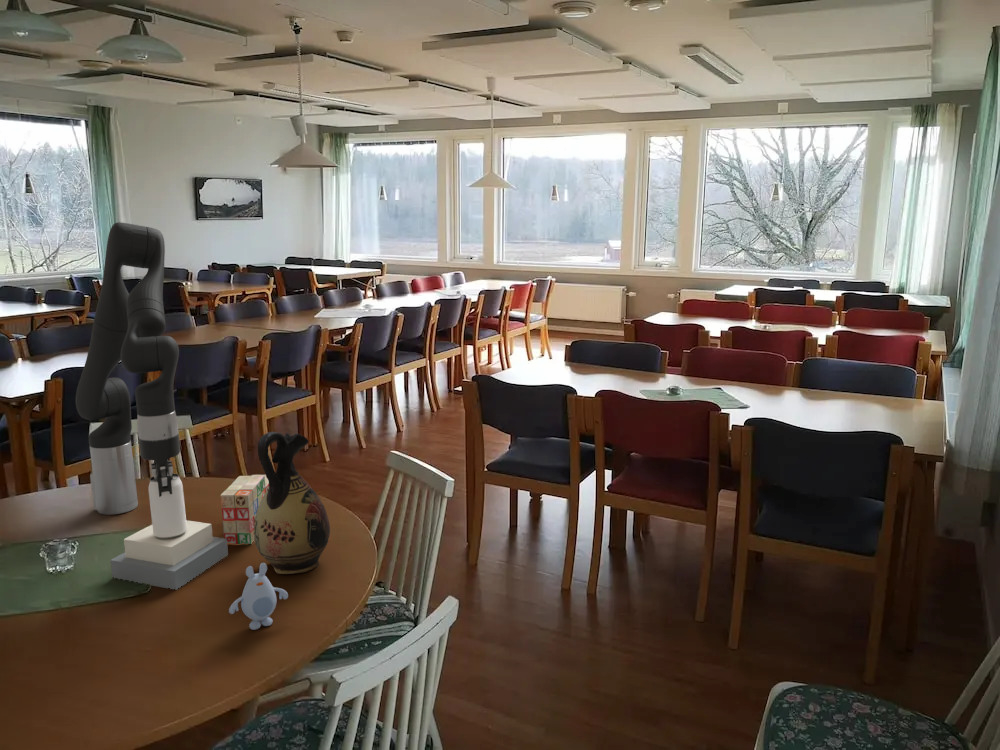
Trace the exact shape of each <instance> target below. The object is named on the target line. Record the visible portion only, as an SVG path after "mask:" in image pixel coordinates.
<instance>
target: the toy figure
mask: <svg viewBox="0 0 1000 750" xmlns="http://www.w3.org/2000/svg"><path fill="white" fill-rule="evenodd" d="M267 570H268V566H267V564H266V563H265V562H261V563H260V565H259V570H258V571H259V572H257V573H254V568H253V566H251V565H249V566H247V567H246V569H245V576H247V577H248V579H247V581H246V583H245V585H244V588H243V590H242V595H241V596H240V597H238V598H237V599H235V600H234V601H233V603H231V605H230V607H228V613H229V614H230V615H233V614H235V613H236V612H238V611H239V603H240V607H241V610H242V612H243V614H244V615H245V616H246V617H248V619H250V620H252V621H251V622H250V623H249V625H248V626H249V629H250V630H254V631H255V630H258V629H260V628H261V626H263V627H269V626H271V625H272V624H273V621H274V620H273V618H271V617H270V616H271V615H272V614H273V612H274V611H275V609H276V607H277V601H278V599H277V598H278V597H277V594H276V592H278V593H279V595H278V596H279V600H282V599H283V600H287V599H288V598H289V594H288V592H287V590H285V589H283V588H280V587H274V586H273V585H272V583H271V582H270V580H269V578H268V577H267V576H266V573H267Z"/></svg>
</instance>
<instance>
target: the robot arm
mask: <svg viewBox="0 0 1000 750" xmlns="http://www.w3.org/2000/svg"><path fill="white" fill-rule="evenodd" d="M165 244H166V243H165V239H164V235H163V233H162V232H161V230H159V229H158V228H154V227H149V226H144V225H139V224H133V223H128V222H122V221H121V222H120V221H117V222H115V223H113V224H112V225H111V227H110V230H109V233H108V235H107V243H106V251H105V258H104V259H105V260H104V266H103V275H102V282H101V283H102V284H101V288H100V292H99V298H98V301H97V306H96V310H95V313H94V318H93V319H94V320H93V324H92V329H91V335H90V336H91V337H90V342H89V347H88V350H87V351H88V352H87V355H86V359H85V362H84V365H83V369H82V372H81V375H80V378H79V381H78V385H77V388H76V392H75V393H76V394H75V407H76V411H77V413H78V415H79V416H80V417H81V418H82V419H84V420H86V421H87V420H88V421H95V420H101V419H104V420H103V422H102V423H101V424H100V425H99V426H98V427H96V428H95V429H93V431H91V432H90V433H89V435H88V445H89V452H90V461H91V467H92V468H91V469H92V473H90V475H89V478H90V485H91V486H90V487H91V493H92V502H93V509H94V511H97V513H98V514H101V515H107V516H111V515H119V514H124V513H128V512H130V511H132V510H135V509H136V508H137V507H138V505H139V502H138V495H137V494H138V493H137V483H136V476H135V475H136V474H135V467H134V458H133V457H134V455H133V448H132V441H131V438H132V437H131V434H132V428H133V425H132V409H131V407H132V405H131V396H130V395H131V394H130V391H129V388H128V385H127V384H126V383H125V382H124V380H123V379H121V378H120V377H109V376H110V374H111V373H112V372H113V370H114V369H115V367H116V366H117V365H118V364H119V363H120V362H121V364H122V366H123V368H124V369H125V370H126V371H127V372H129V373H131V374H142V373H153V372H160V375H159V376H158V377H157V378H155V379H153V380H151V381H147V382H144V383H142V384H139V385H138V386H137V387H136V388H135V393H134V395H135V406H136V414H137V421H136V426H137V435H138V443H139V444H138V445H139V455H140V457H141V458H142V459H144V460H146V461H153V462H152V463H151V464H150V466H151V475H152V477H154V481H157V482H158V489H159V497H161V496H162V494H161V493H162V492H166V491H169V492H170V494H172V486H171V480H172V479H173V477H172V474H174V465H173V461H172V460H169V459H171V458H175V457H176V456H178V455H179V454H180V452H181V444H180V433H179V425H178V424H179V423H178V417H177V413H176V407H175V396H174V395H175V394H174V383H175V374H176V370H177V366H178V362H179V361H178V360H179V357H180V349H179V344H178V343H177V341H176V340H175V338H173V337H172V336H169V335H163V334H164V333H165V332H166V328H167V327H166V325H167V324H166V315H165V308H164V300H163V299H164V295H163V294H164V293H163V292H164V281H165V279H164V277H165V257H166V256H165V255H166V254H165V253H166V251H165V249H166V248H165V247H166V245H165ZM123 266H126V267H133V268H140V269H147V271H146V274H145V275H144V277H143V278H141V280H140V281H139V282H138V283H136V285H135V286H134V287H133V288H132V289H131V291H130V292H129V291H128V289H127V288H126V285H125V282H124V279H123V277H122V273H121V271H122V270H121V269H122V267H123Z"/></svg>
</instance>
